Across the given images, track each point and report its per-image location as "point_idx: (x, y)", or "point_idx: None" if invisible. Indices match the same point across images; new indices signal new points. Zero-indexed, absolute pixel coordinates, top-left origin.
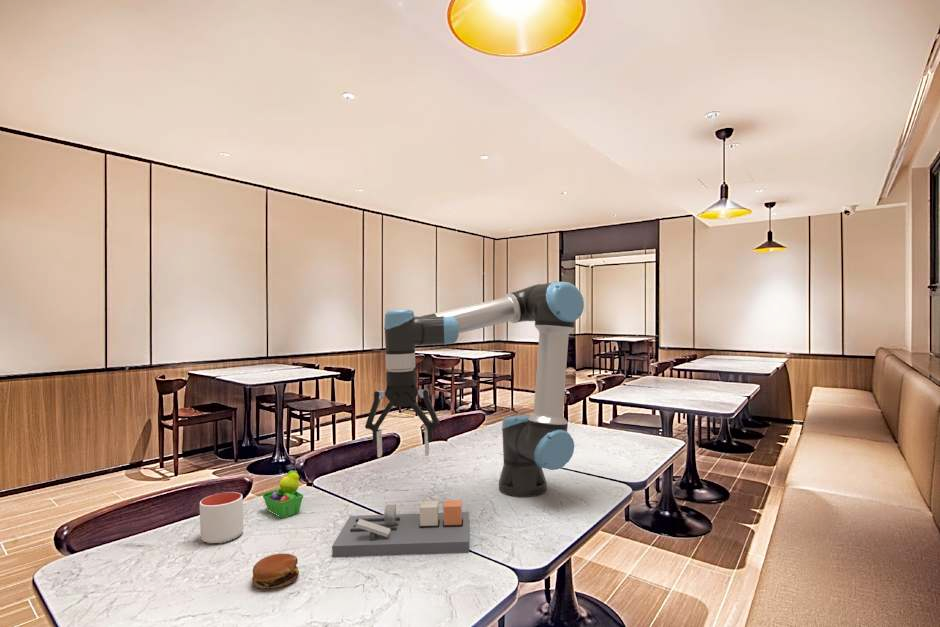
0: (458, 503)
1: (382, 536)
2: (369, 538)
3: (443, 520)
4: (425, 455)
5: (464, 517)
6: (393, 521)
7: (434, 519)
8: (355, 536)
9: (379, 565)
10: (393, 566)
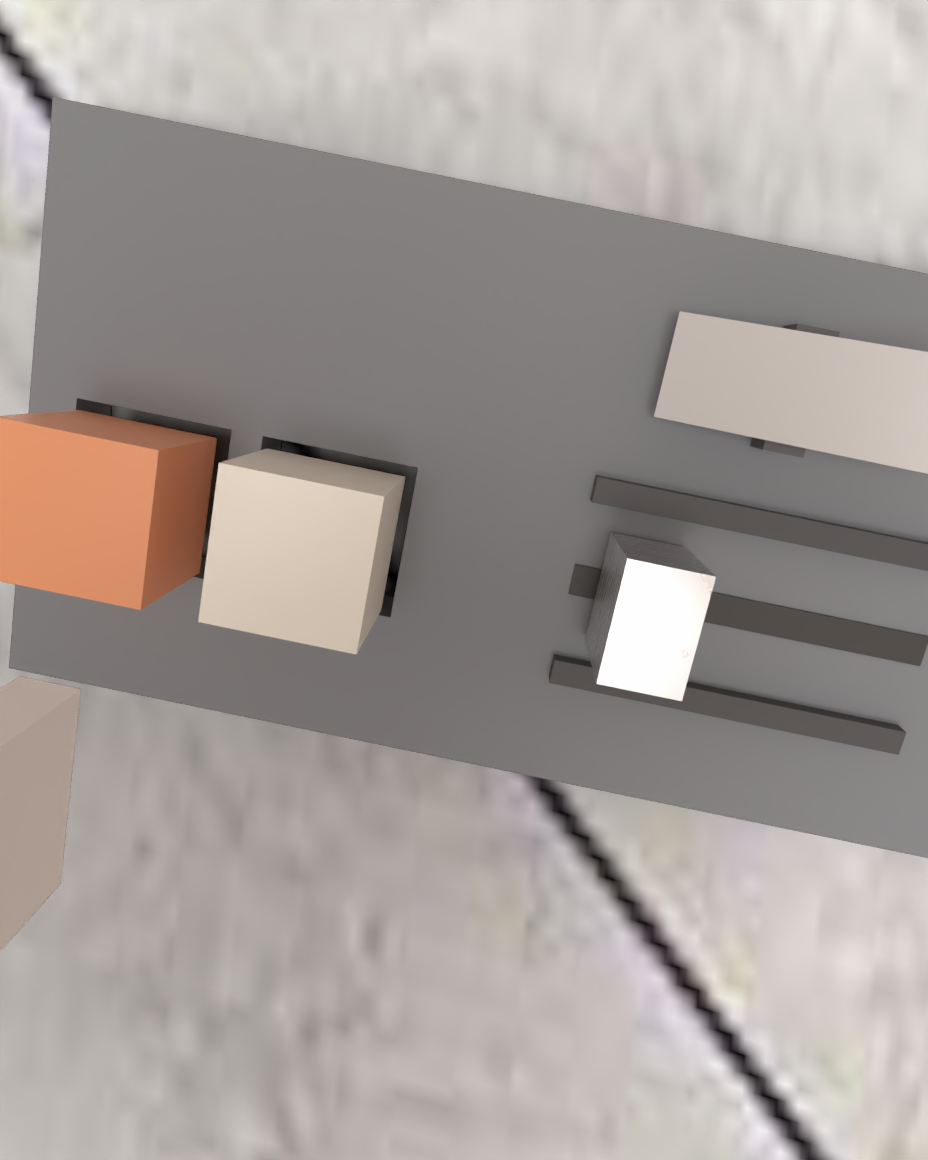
0: (13, 496)
1: None
2: None
3: None
4: (70, 689)
5: None
6: (619, 540)
7: (278, 458)
8: None
9: (748, 82)
10: (650, 37)
